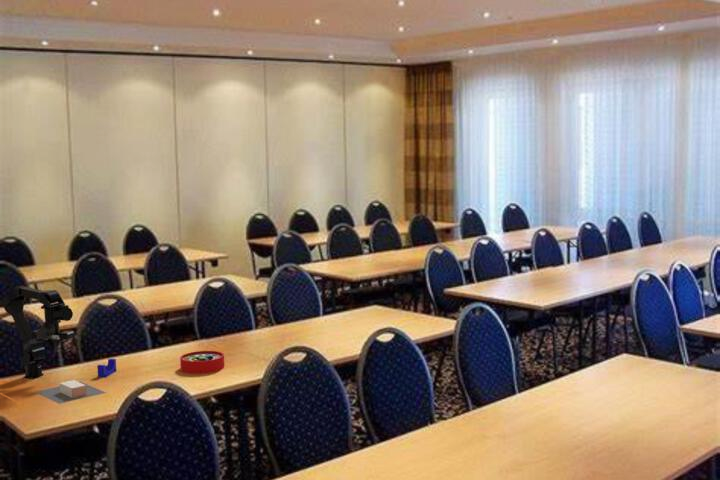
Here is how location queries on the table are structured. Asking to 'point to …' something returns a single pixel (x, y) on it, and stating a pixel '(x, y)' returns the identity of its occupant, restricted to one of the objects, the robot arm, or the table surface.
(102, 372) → the cable clip
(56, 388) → the rubber mat
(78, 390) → the cream block
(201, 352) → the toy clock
